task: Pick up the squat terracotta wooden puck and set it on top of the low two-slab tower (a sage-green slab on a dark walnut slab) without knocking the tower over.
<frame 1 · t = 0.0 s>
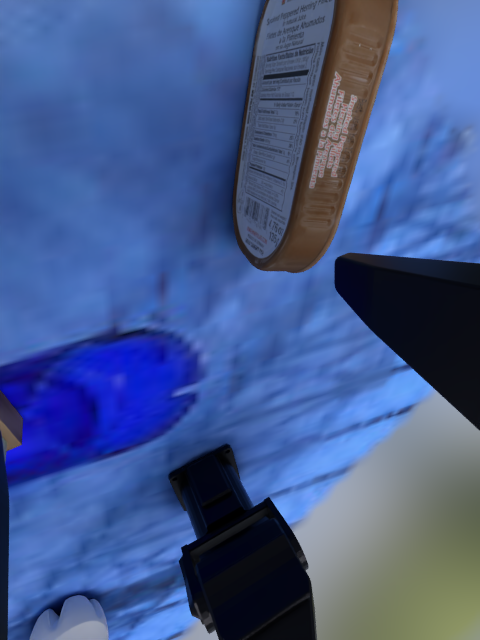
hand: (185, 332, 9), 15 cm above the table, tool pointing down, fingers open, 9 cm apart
tin: (254, 126, 22), on the table
water bottle: (66, 608, 38), on the table
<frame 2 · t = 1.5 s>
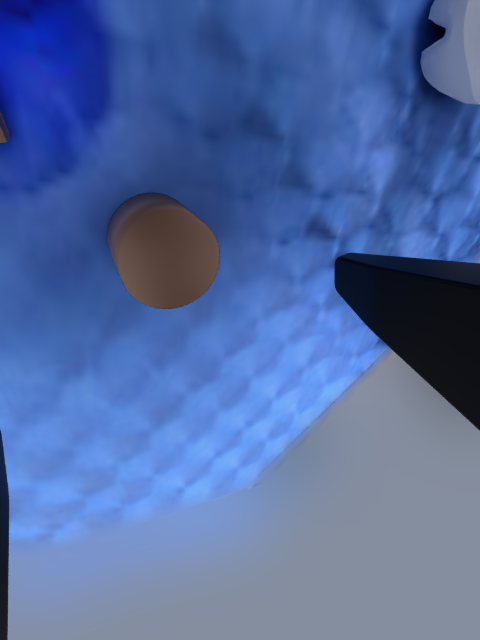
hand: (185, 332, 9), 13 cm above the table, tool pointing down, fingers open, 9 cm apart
water bottle: (449, 36, 22), on the table
puck: (152, 237, 21), on the table
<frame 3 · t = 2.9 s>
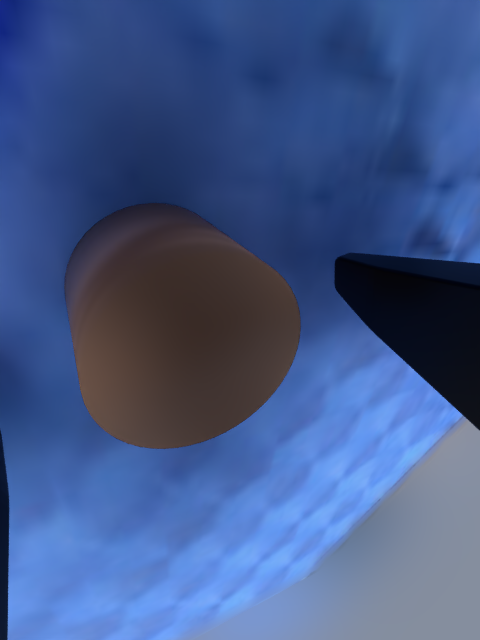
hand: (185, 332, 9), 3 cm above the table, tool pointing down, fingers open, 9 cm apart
puck: (156, 287, 11), on the table
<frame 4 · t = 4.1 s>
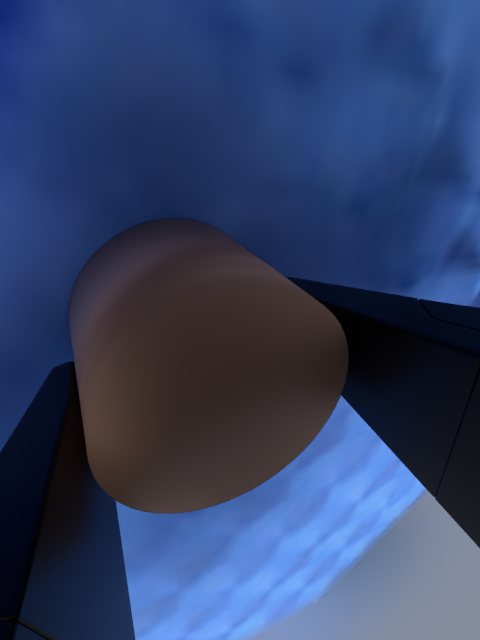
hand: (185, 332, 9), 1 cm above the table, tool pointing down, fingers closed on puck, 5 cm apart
puck: (172, 312, 9), on the table, touching gripper
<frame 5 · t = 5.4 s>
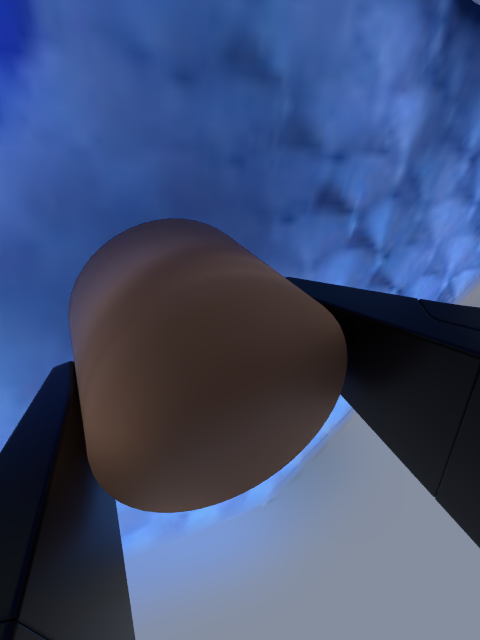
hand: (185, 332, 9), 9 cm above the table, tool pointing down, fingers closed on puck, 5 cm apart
puck: (172, 312, 10), point 8 cm above the table, touching gripper
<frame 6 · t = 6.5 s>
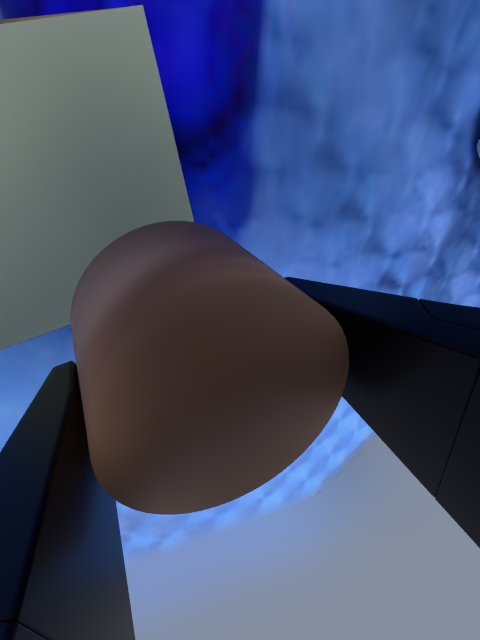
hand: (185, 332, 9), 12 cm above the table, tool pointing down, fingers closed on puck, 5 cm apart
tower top: (51, 184, 14), point 2 cm above the table, touching tower base
puck: (173, 314, 10), point 11 cm above the table, touching gripper
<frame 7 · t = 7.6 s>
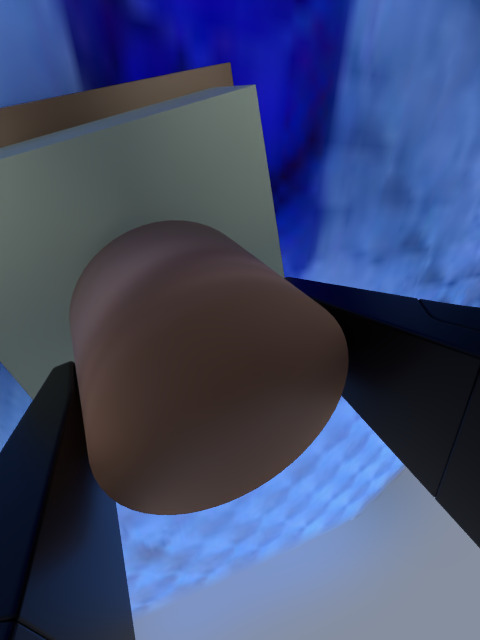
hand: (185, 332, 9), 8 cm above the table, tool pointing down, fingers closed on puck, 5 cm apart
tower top: (133, 260, 13), point 2 cm above the table, touching tower base
puck: (172, 314, 10), point 7 cm above the table, touching gripper
tower base: (117, 230, 15), on the table, touching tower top
when the fingers open (7 cm above the table, at t = 8.5 s): puck drops 1 cm, point 5 cm above the table.
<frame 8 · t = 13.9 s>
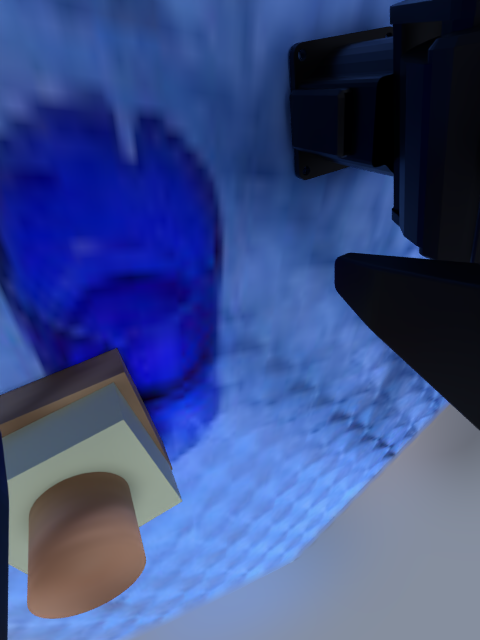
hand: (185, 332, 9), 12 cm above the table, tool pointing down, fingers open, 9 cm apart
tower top: (76, 465, 22), point 2 cm above the table
puck: (82, 505, 19), point 5 cm above the table
tower base: (69, 428, 24), on the table
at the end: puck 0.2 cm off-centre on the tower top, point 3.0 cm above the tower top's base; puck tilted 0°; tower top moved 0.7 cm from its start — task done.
